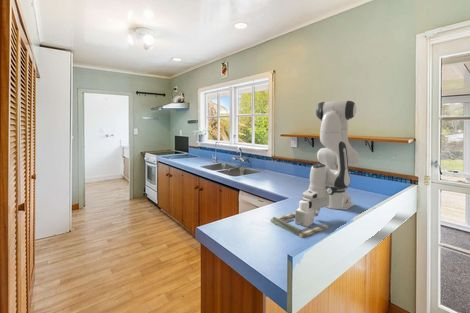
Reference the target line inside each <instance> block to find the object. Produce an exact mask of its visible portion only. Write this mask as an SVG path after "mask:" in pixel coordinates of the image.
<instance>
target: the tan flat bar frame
mask: <svg viewBox="0 0 470 313" xmlns="http://www.w3.org/2000/svg"><path fill="white" fill-rule="evenodd" d="M295 214H296V211H295V212H291V213H289V214H284V215H282V216H277V217H275V216H274V217H272V218H270V223H271V224H274V225H276V226H278V227H280V228H282V229H284V230H286V231H287V232H290V233H292V234H293V235H295V236H297V237H300V238H304V237H307V236H309V235H312V234H315V233H319V232H320V231H323V230H326V229H328V225H327V224H323V225H320V226H319V225H318V226H316V227H312V228H313V229H311V230H308V231H305V232H302V233H301V230H302V228H299V227H296V226H295V225H292V224H290V223H289V222H287V223H286V222H284V221H282V220H285V219H289V218H291V219H292V218H295Z"/></svg>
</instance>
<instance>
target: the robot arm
mask: <svg viewBox="0 0 470 313" xmlns="http://www.w3.org/2000/svg"><path fill="white" fill-rule="evenodd" d="M356 113H357V106H356V103H355V102H354V101H352V100H331V101H322V102H319V103H318V104H317V105H316V107H315V114H316V117H317V118H318V119H319V120H320V121H321V124H320V129H319V141H320V143H321V145H322V146H323V147H322V148H320V149H319V150H318V151H317V152H316V158H317V161H318V162H319V163H314V164H313V165H311V166H310V167H311V168H310V170H309V171H310V172H309V185H308V189H307V190H306V189H305V191H303V192H302V199H303V200H306V201H309V202H312V208H311V209H314V218H315V217H318V216H319V213H320V211H321V209H322V208H328V209H332V210H344V211H347V210H349V209H350V208H352V207H353V206H355V203H354V202H352V197H351V195H349V193H348V192H347V191H346V190H348V187H349V186H350V185H351V175H350V171H349V167H350V166H356V165H357V164H358V163H359V160H360V154H359V152H358V151H357V150H355V149H354V148H353V147H352V145H351V144H350V142H349V136H348V131H349V130H348V127H349V126H348V125H349V124H348V123H349V122H348V121H349V120H350V119H351V120H352V119H353V118H354V117H355V115H356Z"/></svg>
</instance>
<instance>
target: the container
mask: <svg viewBox="0 0 470 313" xmlns="http://www.w3.org/2000/svg"><path fill="white" fill-rule="evenodd" d="M311 208H312V202H309V201H306V200H303V198H301V199H299V202H298V208H297V209H295V212H296V214H295V216H294V224H297V225H301V226H304V227H306V228H308V227H311V226H312V224H314V221H315V217H314V209H311Z"/></svg>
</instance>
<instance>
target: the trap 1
mask: <svg viewBox="0 0 470 313" xmlns="http://www.w3.org/2000/svg"><path fill="white" fill-rule="evenodd" d="M282 221H284V222H286V223H291V222H295V219H293V218H292V217H291V218H287V219H284V220H282Z"/></svg>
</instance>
